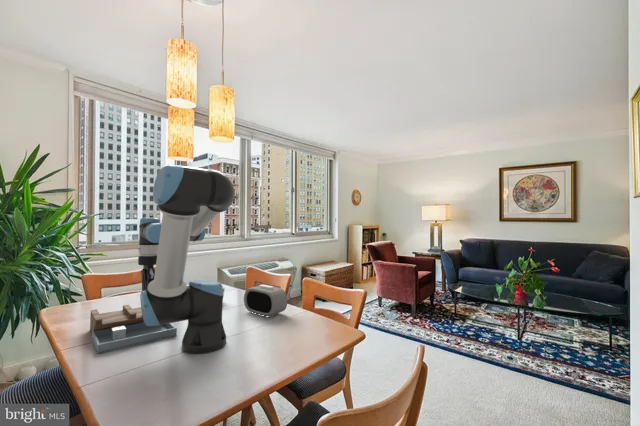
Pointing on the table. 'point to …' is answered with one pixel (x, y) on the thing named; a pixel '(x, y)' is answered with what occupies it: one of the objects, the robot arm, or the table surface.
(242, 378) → the table surface
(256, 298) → the alarm clock
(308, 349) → the table surface
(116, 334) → the left block
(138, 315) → the slot board
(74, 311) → the table surface
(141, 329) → the tray
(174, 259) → the robot arm
